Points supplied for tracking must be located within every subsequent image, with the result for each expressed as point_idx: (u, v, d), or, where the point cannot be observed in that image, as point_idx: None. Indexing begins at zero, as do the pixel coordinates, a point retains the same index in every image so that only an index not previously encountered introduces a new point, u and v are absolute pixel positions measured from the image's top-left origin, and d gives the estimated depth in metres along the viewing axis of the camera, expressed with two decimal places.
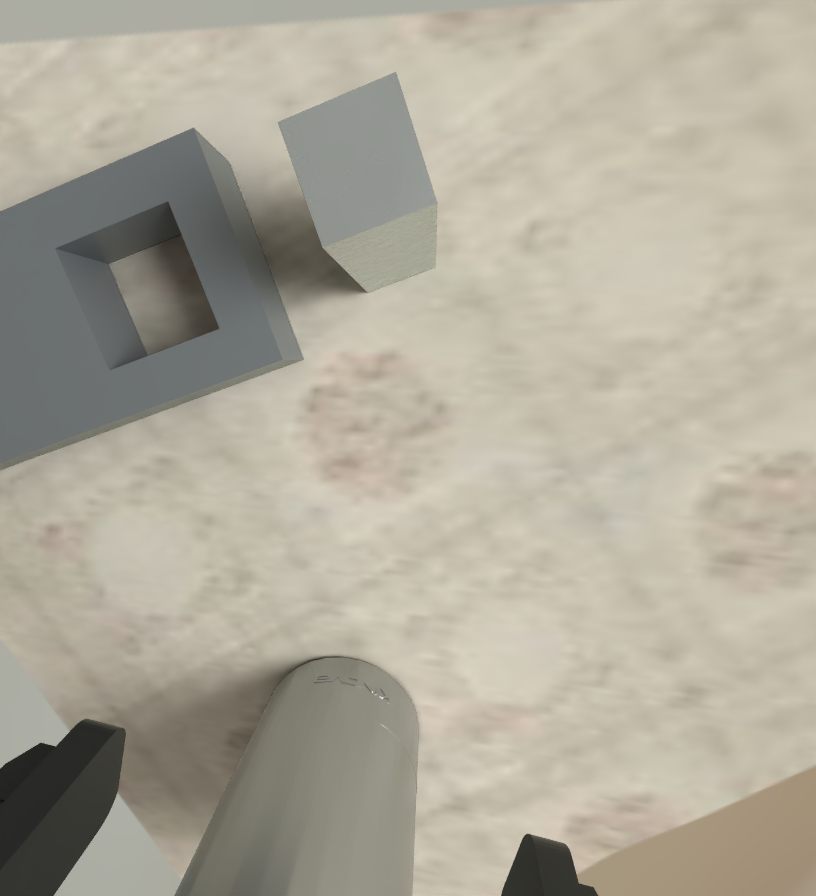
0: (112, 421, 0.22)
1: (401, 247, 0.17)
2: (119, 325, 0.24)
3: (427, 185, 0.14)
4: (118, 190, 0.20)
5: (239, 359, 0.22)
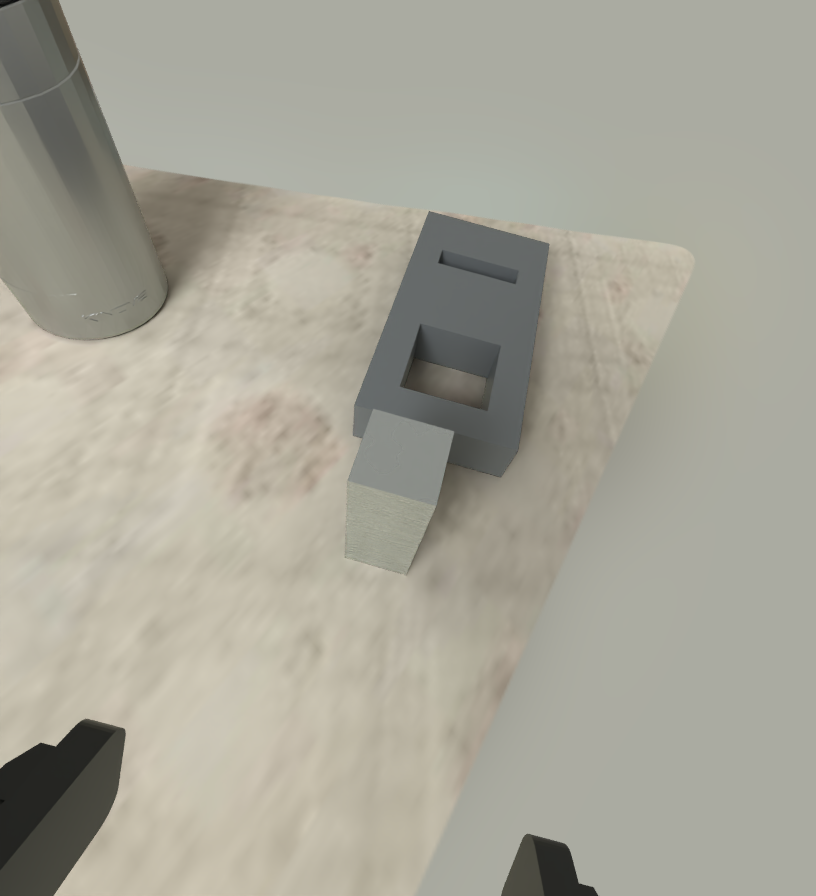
0: (393, 306, 0.33)
1: None
2: (446, 354, 0.34)
3: (361, 481, 0.19)
4: (509, 392, 0.30)
5: (374, 383, 0.29)
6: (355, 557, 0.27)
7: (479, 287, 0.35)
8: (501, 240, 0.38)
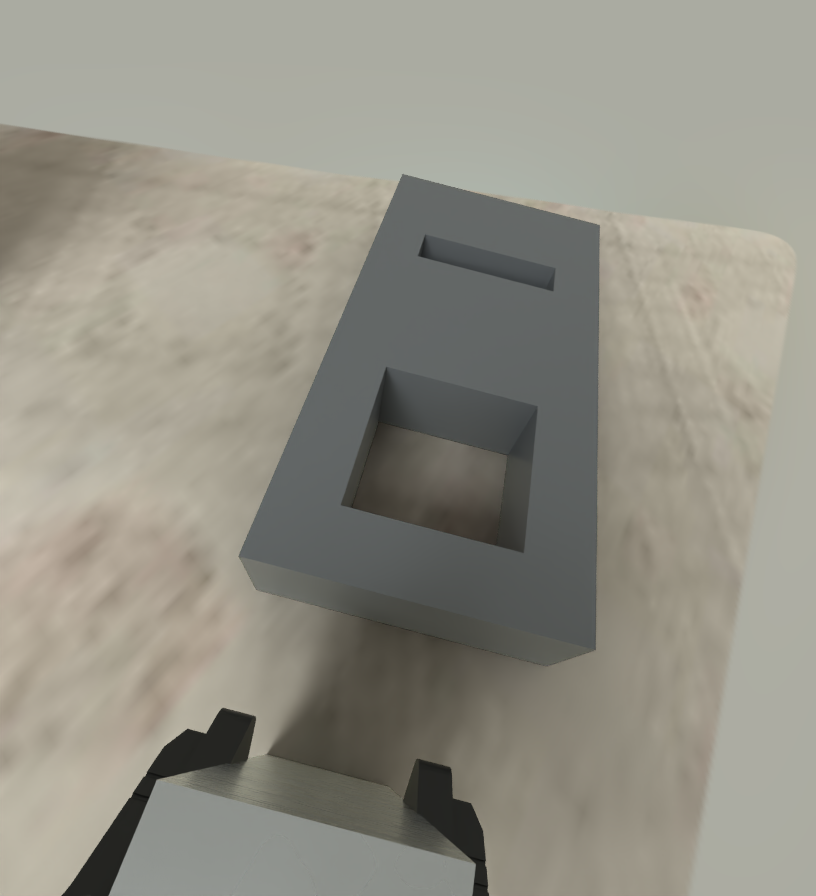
0: (335, 334, 0.18)
1: None
2: (436, 417, 0.19)
3: None
4: (564, 507, 0.15)
5: (286, 501, 0.14)
6: None
7: (491, 297, 0.20)
8: (522, 219, 0.23)
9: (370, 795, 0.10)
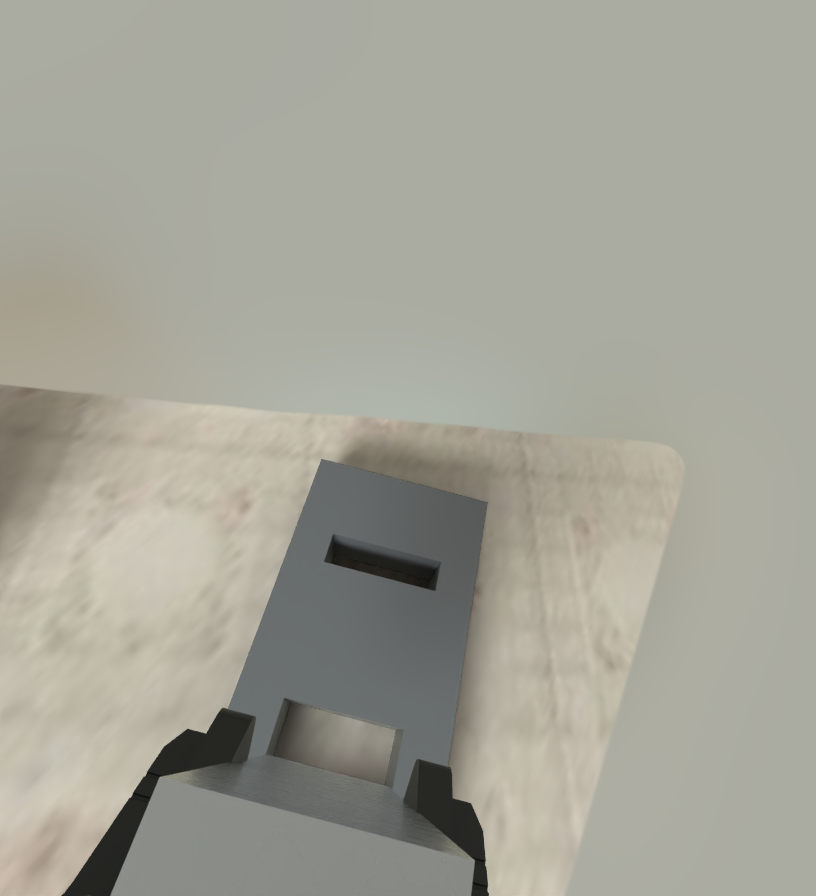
0: (246, 663, 0.22)
1: None
2: (333, 712, 0.23)
3: None
4: None
5: None
6: None
7: (381, 605, 0.24)
8: (420, 504, 0.27)
9: (370, 794, 0.10)
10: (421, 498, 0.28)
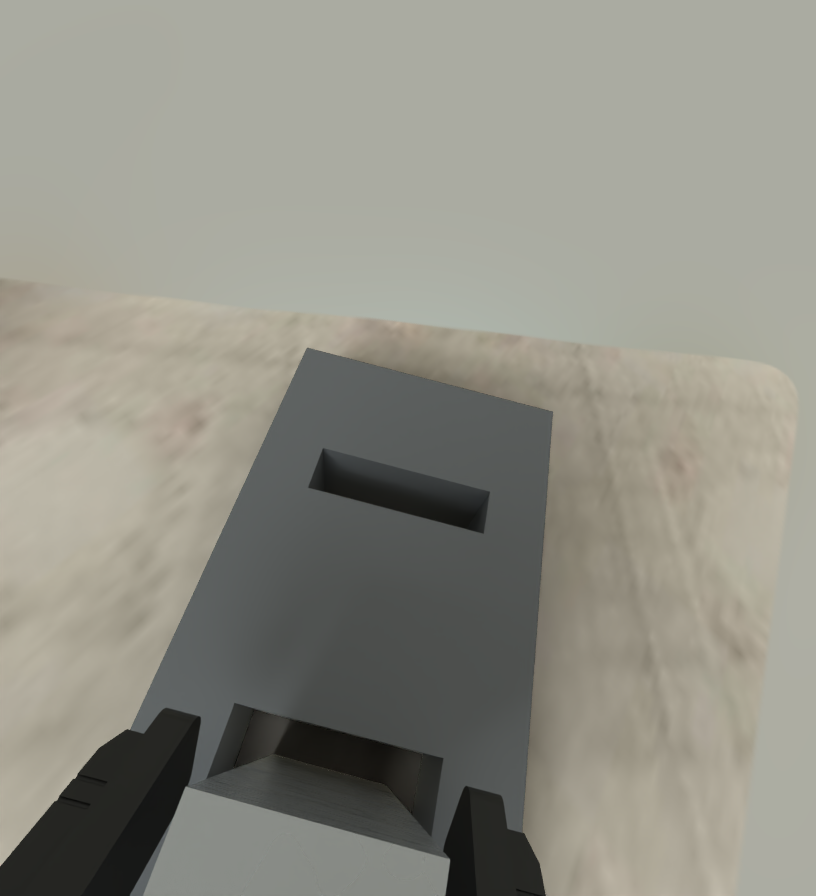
0: (172, 644, 0.13)
1: None
2: None
3: None
4: None
5: None
6: None
7: (399, 553, 0.15)
8: (454, 411, 0.18)
9: (367, 795, 0.11)
10: (455, 403, 0.18)
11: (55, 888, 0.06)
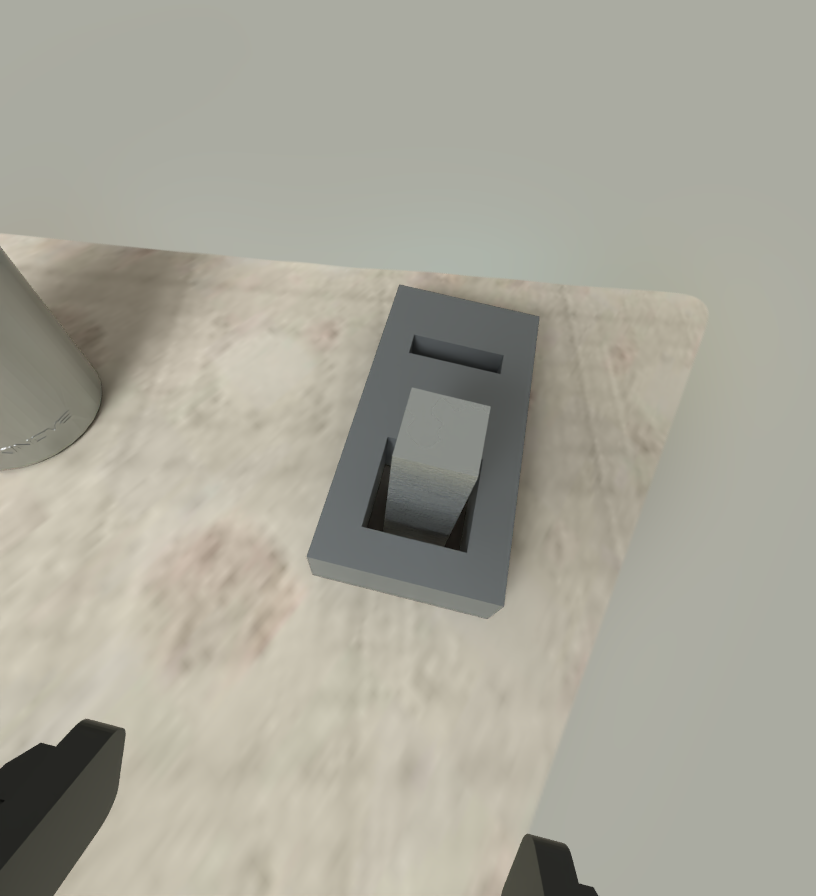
0: (355, 415, 0.28)
1: None
2: None
3: (405, 456, 0.20)
4: (493, 524, 0.25)
5: (330, 525, 0.25)
6: None
7: (457, 381, 0.30)
8: (483, 316, 0.33)
9: None
10: (484, 312, 0.33)
11: None
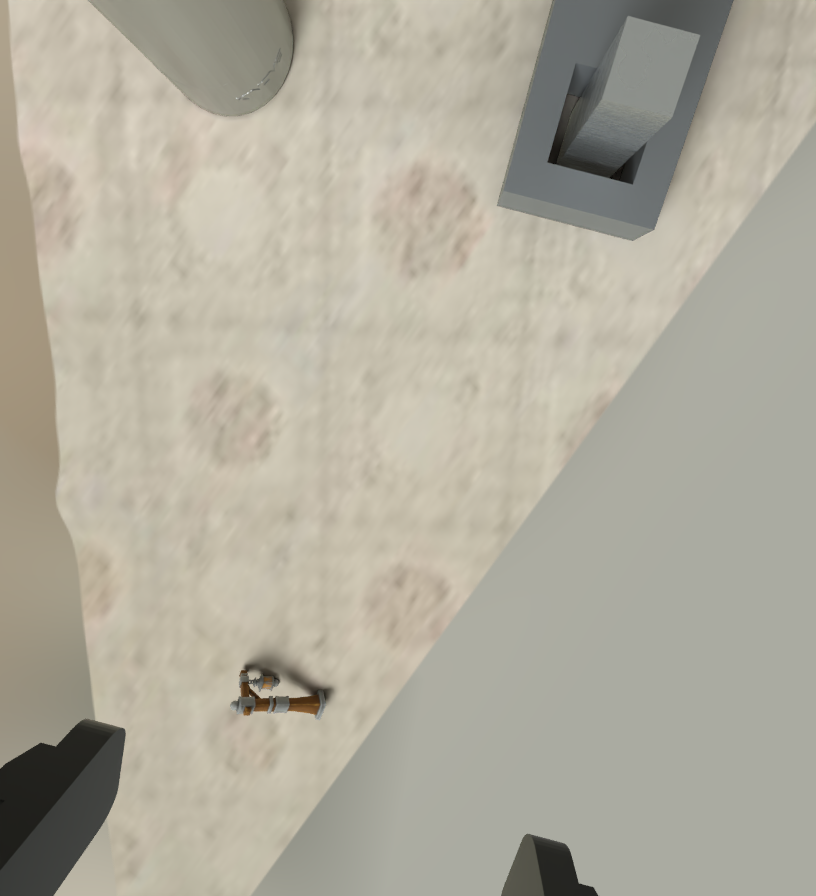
0: (545, 37, 0.29)
1: (589, 103, 0.27)
2: None
3: (613, 98, 0.24)
4: (661, 157, 0.30)
5: (522, 162, 0.30)
6: None
7: None
8: None
9: None
10: None
11: None
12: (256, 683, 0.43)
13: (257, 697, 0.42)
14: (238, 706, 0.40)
